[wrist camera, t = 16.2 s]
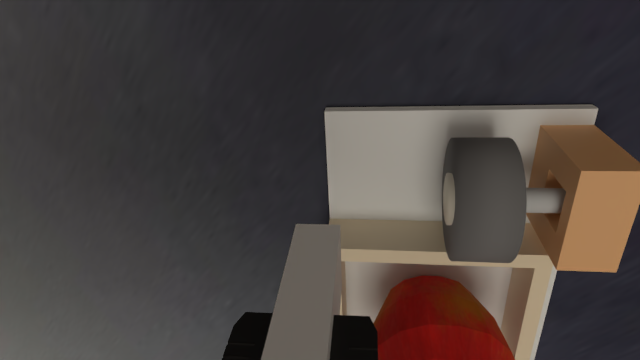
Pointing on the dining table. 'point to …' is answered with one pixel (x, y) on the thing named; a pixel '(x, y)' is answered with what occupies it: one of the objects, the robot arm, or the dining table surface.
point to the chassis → (426, 204)
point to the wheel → (488, 199)
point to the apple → (437, 323)
